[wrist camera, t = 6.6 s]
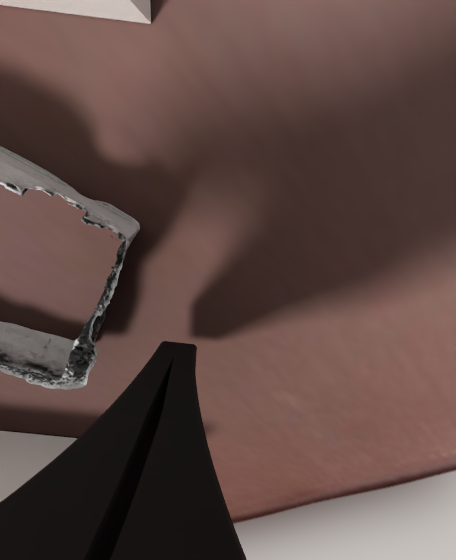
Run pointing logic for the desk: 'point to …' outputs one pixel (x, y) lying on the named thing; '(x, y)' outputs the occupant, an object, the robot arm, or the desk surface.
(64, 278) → the desk surface
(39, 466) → the box
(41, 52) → the desk surface
